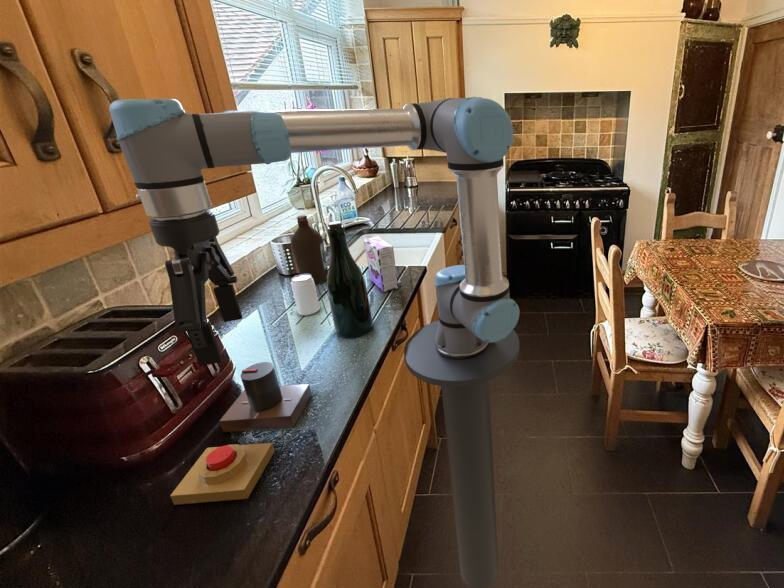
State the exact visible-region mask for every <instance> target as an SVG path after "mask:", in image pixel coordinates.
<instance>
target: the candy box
mask: <svg viewBox="0 0 784 588" xmlns="http://www.w3.org/2000/svg"><path fill="white" fill-rule="evenodd" d="M363 244H364V248H365V254H366V260H367V266H368V274H369V279H370V281H371V282H372V283H373V284H374V285H375V286H376V287H377V288H378V289H380V291H382V292H383V293H387V292H391V291H393V290H397V289H399V283H398V277H397V268H396V260H395V251H394V246H393V244H390V243H389V242H388V241H386V240H384V239H382V238H381V237H380V236H378V235H377V236H373V237H369V238H364V239H363Z"/></svg>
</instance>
